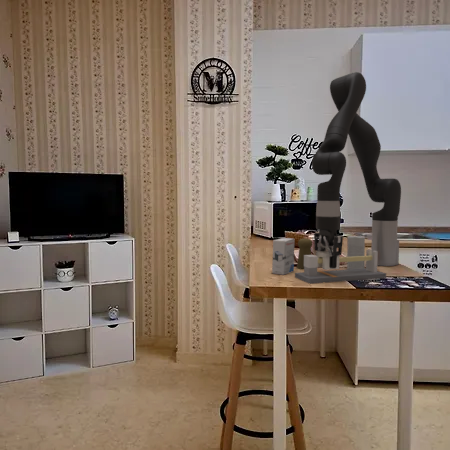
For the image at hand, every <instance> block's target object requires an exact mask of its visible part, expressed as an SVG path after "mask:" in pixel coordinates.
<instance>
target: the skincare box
mask: <svg viewBox="0 0 450 450" xmlns="http://www.w3.org/2000/svg"><path fill="white" fill-rule="evenodd" d="M346 238H347V251H346V252H347V253H346V254H347V255H346V257H353V256H366V255H365V253H366V252H365V248H366V245H365V244H366V243H365V241H366V237H365V236H361V235H360V236H359V235H348V236H347V237H346ZM346 264H347V265H346V266H347V267H346V270H347V269H362V268H365V261H352V262H346Z"/></svg>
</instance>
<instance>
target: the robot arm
mask: <svg viewBox="0 0 450 450" xmlns="http://www.w3.org/2000/svg"><path fill="white" fill-rule="evenodd" d="M366 82H367V81H366V78H365V77H364V75H363V74H362V73H360V72H357V71H355V72H352V73H348V74H345V75H341V76H339V77H336V78H334V79H332V80H331V81H330V84H329V91H330V96H331V98H332V101H333V103H334V106H335V108H336V109H337V113H336V114H335V115H334V117H333V118H332V119H331V120H330V122H329V124H328V126H327V129H326V132H325V136H324V139H323V141H322V142H321V144H320V146H319V147H318V149H317V151H315V153H314V155H313V157H312V161H311V168H312V171H313V172H314V173H315V174H316V175H318V176H319V175H320V176H325V175H326V176H327V175H331V176H330V178H329V180H327V181H323V182H321V183H319V184H317V194H316V197H317V199H316V201H317V202H316V208H315V209H316V210H315V211H316V212H315V228H316V230H319V232H314V233H313V241H314V250H315V252H316V251H329V255H330V260H329V267H330V268H336V267H337V256H338V255H340V256H341V255H342V253H343V241H344V237H343V236H342V235H341V236H338V235H337V231H339V230H340V229H341V203H340V201H341V199H340V198H341V197H340V196H341V195H340V193H341V186H342V181H343V178H344V175H345V174H344V173H345V171H346V169H347V168H346V167H347V158H346V156H345V155H344V153H343V152H342V151H343V150H344V149H345V147H346V143H347V140H348V138H349V139H350V143H351V146H352V148H353V151H354V153H355V155H356V158H357V160H358V163H359V166H360V169H361V173H362V175H363V179H364V183H365V187H366V191H367V194H368V196H369V198H370V200H371V201H372V202H374V203H378V204H379V203H381V204H382V203H383V206H382V208H381V209H380V210H377V211H374V212H373V213H372V218H371V219H372V220H371V249H370V250H372V251H378V261H377V266H381V267H384V266H385V267H386V266H387V267H394V266H398V265H399V264H400V263H399V262H400V261H399V260H400V258H399V257H400V240H399V239H398V223H399V222H398V221H399V220H398V219H399V215H400V211H401V210H400V209H401V208H400V207H401V198H402V185H401V183H400V181H399V179H396V178H381V177H380V174H379V172H378V169H377V165H378V161H379V157H380V155H381V149H382V148H381V147H382V145H381V143H380V139H379V137H378V134H377V131H376V129H375V128H374V126H372V125H371V124H370V123H369V122H368V121H366V120H365V118H362V117H361V116H360V115H359V114H358V113H357V112H358V110H359V109H360V107H361V104H362V102H363V100H364V98H365V94H366V91H367V83H366ZM348 136H349V137H348Z"/></svg>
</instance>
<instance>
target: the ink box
mask: <svg viewBox="0 0 450 450" xmlns="http://www.w3.org/2000/svg"><path fill="white" fill-rule="evenodd" d="M271 267H272V269H271V272H272V274H275V275H283V276H284V275H287V274H289V273H292V272H294V271H295V270H294V269H295V238H290V237H287V238H286V237H281V238H278V239H277V238H276V239H273V240H272V266H271Z"/></svg>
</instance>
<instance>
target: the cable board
mask: <svg viewBox="0 0 450 450" xmlns="http://www.w3.org/2000/svg"><path fill="white" fill-rule="evenodd" d="M365 253H366V255H365V256H353V257H347V256H340V257H339V263H347V262H352V261H364V262H365V267H364V268H362V269H347V268H346V269H330V270H318V268H319V267H318V263H323V258H318V256H316V254H315V255H314V254H312V255H304V270H303V271H302V272H295V273H294V278H295V279H298V280H300V281H302V282H305V283H308V284H309V283H310V284H319V283H320V284H321V283H322V284H324V283H323V282H325V283H338V282H350V281H363V280H376V279H378V280H379V279H387V272H384V271H379V270H378V265H377V261H378V251H372V250H371V249H366V252H365Z"/></svg>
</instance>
